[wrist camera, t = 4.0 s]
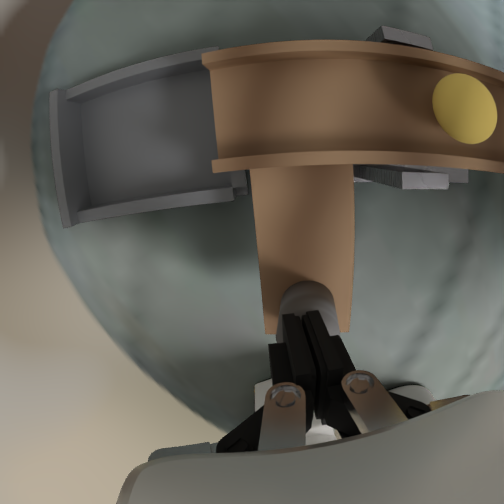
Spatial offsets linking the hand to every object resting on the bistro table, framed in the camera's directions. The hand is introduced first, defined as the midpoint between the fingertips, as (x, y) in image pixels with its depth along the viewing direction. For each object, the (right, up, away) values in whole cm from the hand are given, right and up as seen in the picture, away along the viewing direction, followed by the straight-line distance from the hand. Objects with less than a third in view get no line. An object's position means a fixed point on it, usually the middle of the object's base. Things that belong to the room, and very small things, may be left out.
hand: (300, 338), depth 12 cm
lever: (+6, +7, +1) cm, 9 cm away
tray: (-9, +12, +5) cm, 16 cm away
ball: (+8, +11, -4) cm, 14 cm away
